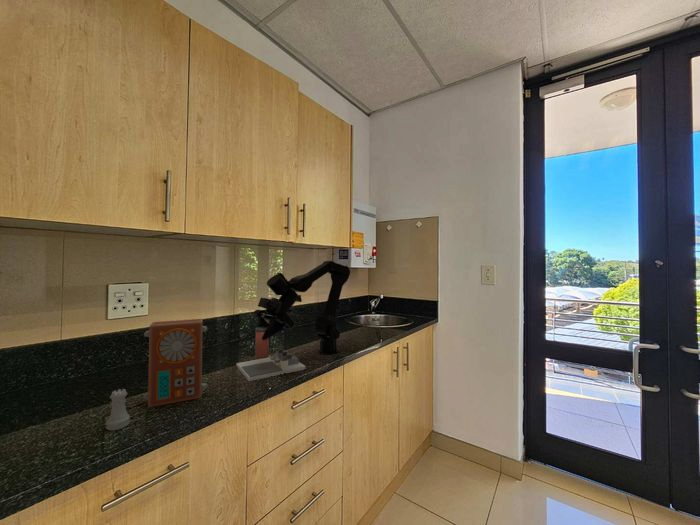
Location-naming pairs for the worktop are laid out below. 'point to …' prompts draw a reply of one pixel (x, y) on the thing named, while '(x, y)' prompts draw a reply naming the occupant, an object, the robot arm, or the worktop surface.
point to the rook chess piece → (118, 411)
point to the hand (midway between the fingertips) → (258, 338)
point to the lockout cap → (261, 343)
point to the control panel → (175, 361)
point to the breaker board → (270, 366)
